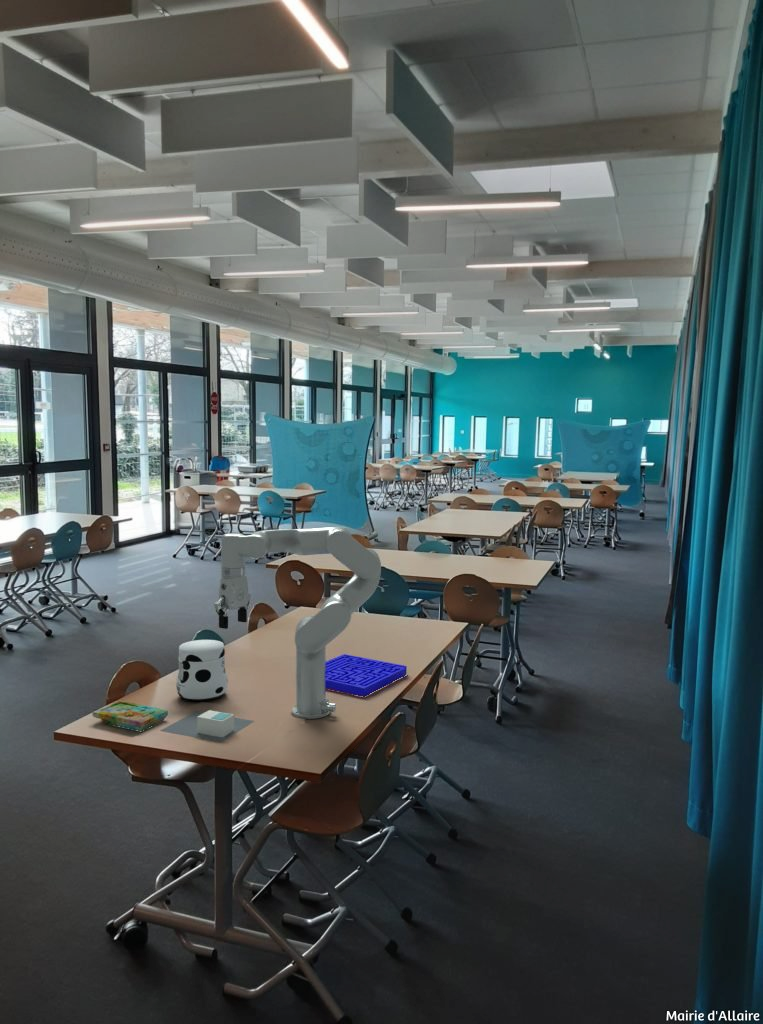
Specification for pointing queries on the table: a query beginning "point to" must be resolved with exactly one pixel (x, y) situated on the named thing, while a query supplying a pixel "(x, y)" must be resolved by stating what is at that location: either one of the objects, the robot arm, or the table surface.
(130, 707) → the puzzle game
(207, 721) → the card box
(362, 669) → the maze
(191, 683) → the milk container
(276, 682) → the table surface
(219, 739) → the mat
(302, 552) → the robot arm
